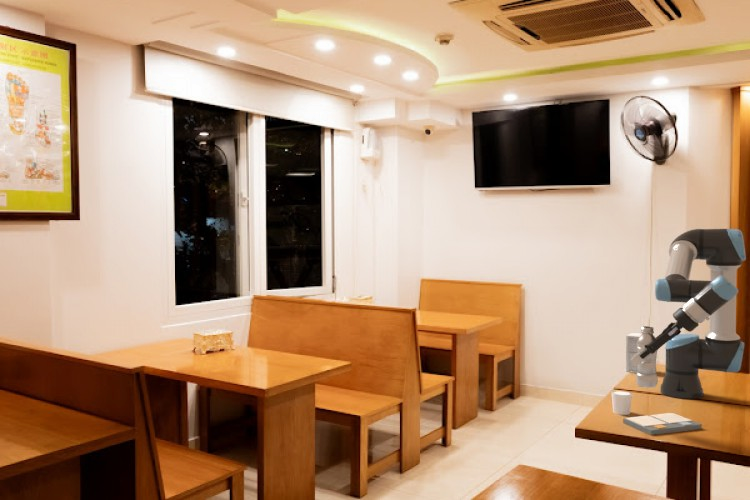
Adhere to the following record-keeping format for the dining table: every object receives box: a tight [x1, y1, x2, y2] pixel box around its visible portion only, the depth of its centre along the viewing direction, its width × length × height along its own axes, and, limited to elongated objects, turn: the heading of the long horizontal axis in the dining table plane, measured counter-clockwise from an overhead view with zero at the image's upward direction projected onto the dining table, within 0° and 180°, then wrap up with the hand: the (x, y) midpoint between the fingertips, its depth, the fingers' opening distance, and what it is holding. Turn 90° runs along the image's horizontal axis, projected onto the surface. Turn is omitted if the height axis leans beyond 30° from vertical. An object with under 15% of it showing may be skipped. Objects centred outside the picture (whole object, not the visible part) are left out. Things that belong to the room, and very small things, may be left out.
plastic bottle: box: [635, 325, 659, 389], centre depth 208 cm, size 6×7×20 cm
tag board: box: [622, 412, 703, 436], centre depth 209 cm, size 20×13×2 cm, turn 107°
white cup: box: [611, 390, 633, 416], centre depth 224 cm, size 7×7×7 cm
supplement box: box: [625, 332, 642, 374], centre depth 286 cm, size 10×9×17 cm
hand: (635, 361), depth 210 cm, fingers closed on plastic bottle, 6 cm apart
